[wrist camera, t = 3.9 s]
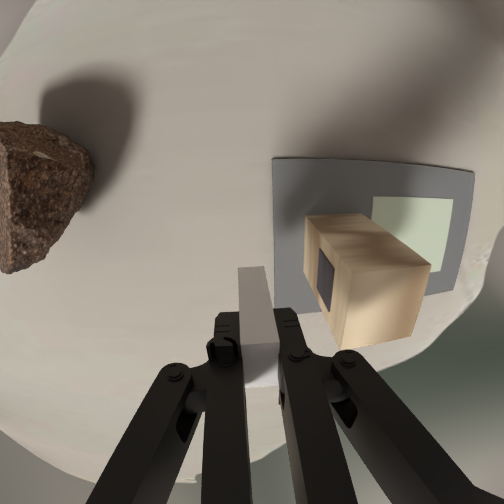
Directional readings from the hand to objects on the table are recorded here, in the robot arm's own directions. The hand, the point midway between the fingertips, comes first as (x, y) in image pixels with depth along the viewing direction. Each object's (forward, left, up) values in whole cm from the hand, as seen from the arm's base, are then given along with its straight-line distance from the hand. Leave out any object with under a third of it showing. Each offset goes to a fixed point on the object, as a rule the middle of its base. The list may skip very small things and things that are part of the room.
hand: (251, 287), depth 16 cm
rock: (+9, -15, -7) cm, 19 cm away
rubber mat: (-11, +7, -7) cm, 15 cm away
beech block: (-6, +4, -6) cm, 10 cm away
